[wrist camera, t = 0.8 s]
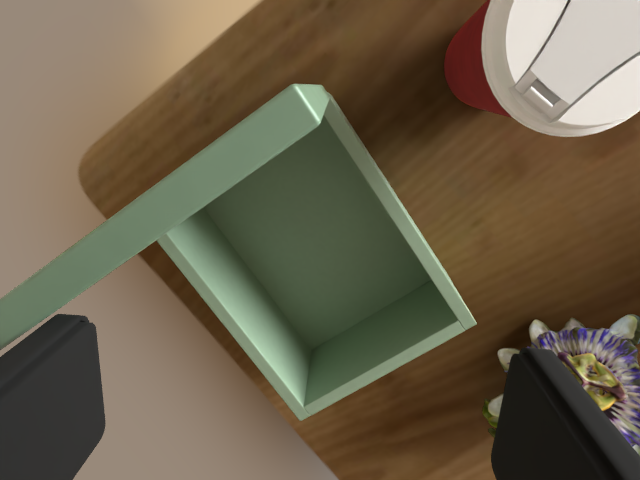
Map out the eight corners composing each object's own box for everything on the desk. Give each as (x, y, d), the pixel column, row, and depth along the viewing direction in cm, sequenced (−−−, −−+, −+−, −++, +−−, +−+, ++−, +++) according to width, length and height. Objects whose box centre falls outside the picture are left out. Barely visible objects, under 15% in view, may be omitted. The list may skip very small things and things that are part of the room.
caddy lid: (322, 123, 8) (295, 80, 7) (-147, 454, 10) (-177, 429, 10) (330, 97, 23) (321, 84, 23) (143, 231, 26) (134, 219, 26)
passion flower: (511, 300, 40) (638, 278, 29) (591, 397, 40) (749, 411, 29) (430, 393, 36) (542, 408, 25) (519, 501, 36) (672, 564, 25)
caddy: (448, 275, 34) (477, 324, 27) (309, 357, 37) (300, 421, 29) (331, 94, 31) (326, 91, 24) (187, 197, 34) (142, 223, 26)
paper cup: (489, 147, 31) (595, 179, 18) (402, 75, 30) (447, 51, 17) (575, 49, 29) (768, 2, 16) (485, -32, 28) (611, -155, 15)
